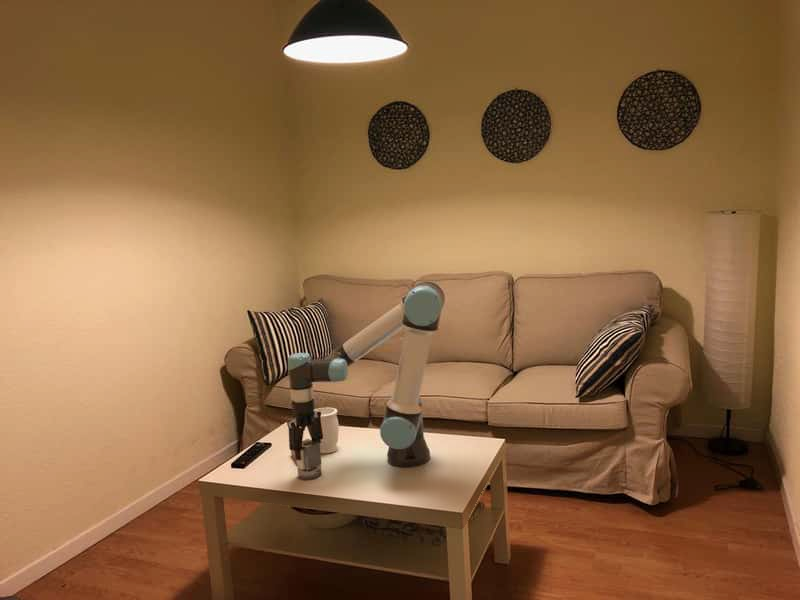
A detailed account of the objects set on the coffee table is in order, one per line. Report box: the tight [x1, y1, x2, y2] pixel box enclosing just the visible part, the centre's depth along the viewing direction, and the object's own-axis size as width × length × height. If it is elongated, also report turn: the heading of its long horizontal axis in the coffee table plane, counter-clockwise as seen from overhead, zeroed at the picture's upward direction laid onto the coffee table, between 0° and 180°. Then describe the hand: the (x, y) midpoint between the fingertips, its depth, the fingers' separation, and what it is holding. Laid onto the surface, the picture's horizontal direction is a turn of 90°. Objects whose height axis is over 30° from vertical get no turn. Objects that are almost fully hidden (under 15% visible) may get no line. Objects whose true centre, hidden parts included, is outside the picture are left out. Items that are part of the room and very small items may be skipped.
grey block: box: [295, 438, 322, 470], centre depth 234 cm, size 6×6×8 cm
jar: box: [314, 407, 340, 455], centre depth 257 cm, size 11×10×15 cm
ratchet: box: [290, 450, 323, 482], centre depth 243 cm, size 26×8×7 cm, turn 21°
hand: (308, 464), depth 234 cm, fingers closed on grey block, 6 cm apart
